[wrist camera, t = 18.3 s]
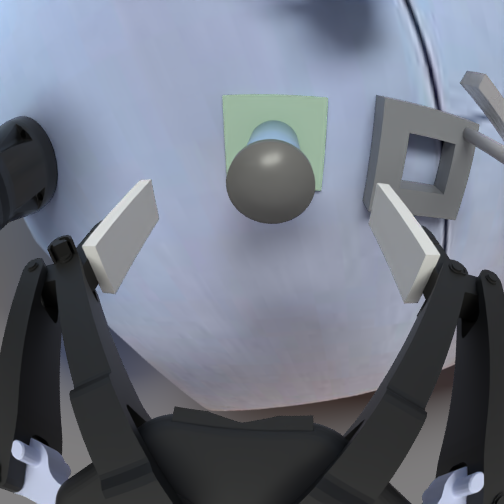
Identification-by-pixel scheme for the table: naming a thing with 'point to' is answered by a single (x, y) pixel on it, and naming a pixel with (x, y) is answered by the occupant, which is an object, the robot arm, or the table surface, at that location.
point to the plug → (271, 175)
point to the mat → (280, 109)
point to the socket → (451, 162)
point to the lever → (486, 98)
